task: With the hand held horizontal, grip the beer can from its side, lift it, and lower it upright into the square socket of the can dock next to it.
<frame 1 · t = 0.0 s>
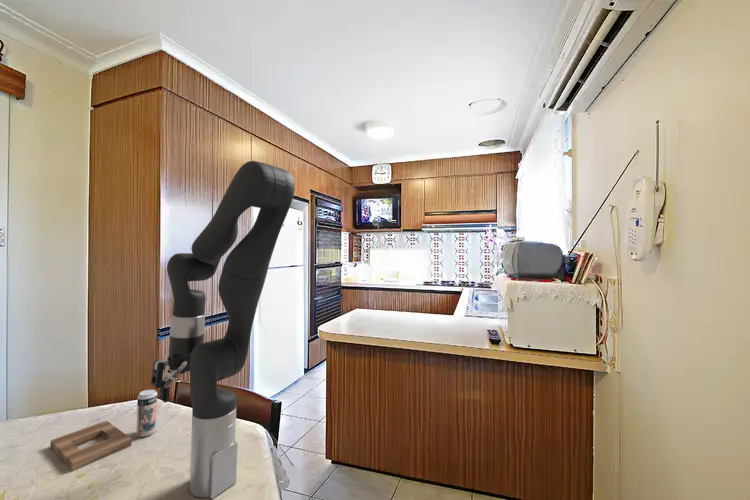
hand: (183, 394, 81), 17 cm above the table, tool pointing down, fingers open, 8 cm apart
beer can: (146, 434, 93), on the table
can dock: (91, 446, 86), on the table
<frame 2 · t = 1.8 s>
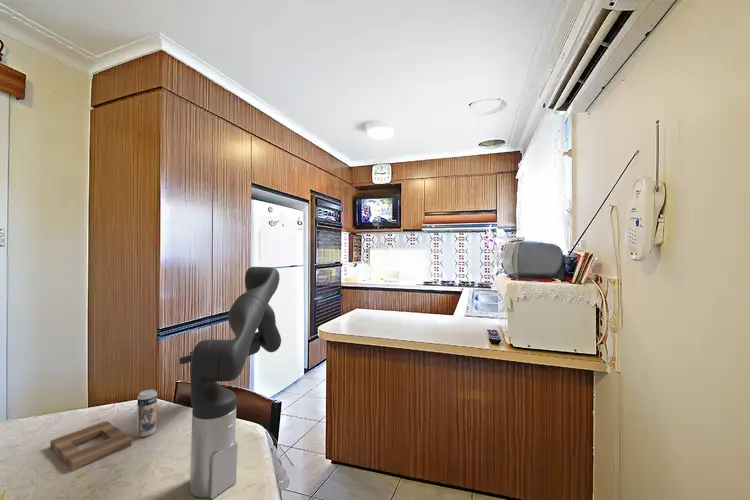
hand: (187, 364, 102), 17 cm above the table, tool horizontal, fingers open, 8 cm apart
nothing on the table moved.
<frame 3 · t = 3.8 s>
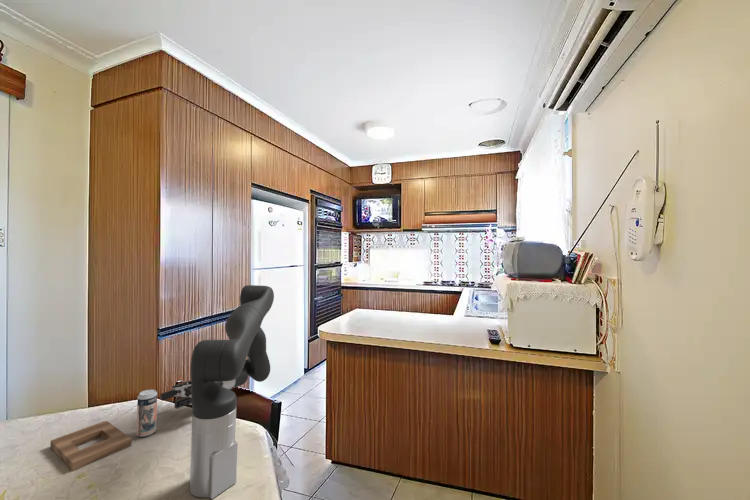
hand: (168, 401, 97), 7 cm above the table, tool horizontal, fingers open, 8 cm apart
nothing on the table moved.
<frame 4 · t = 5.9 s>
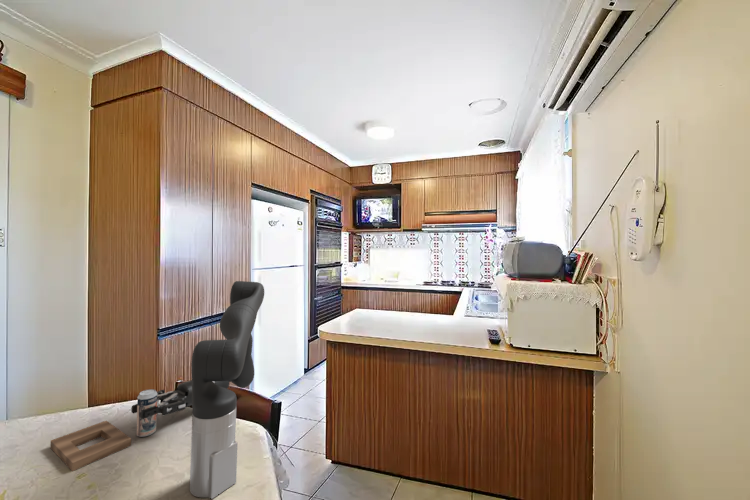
hand: (136, 412, 90), 7 cm above the table, tool horizontal, fingers closed on beer can, 4 cm apart
beer can: (146, 434, 93), on the table, touching gripper
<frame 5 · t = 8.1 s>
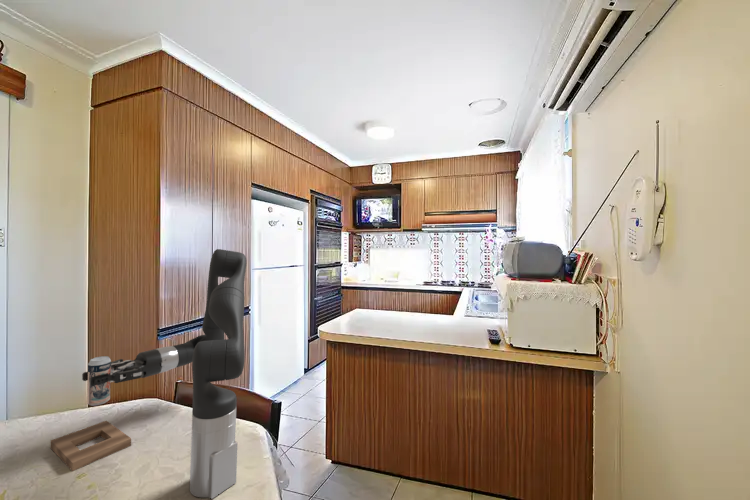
hand: (86, 379, 84), 19 cm above the table, tool horizontal, fingers closed on beer can, 4 cm apart
beer can: (98, 403, 87), point 11 cm above the table, touching gripper
when the fingers open (8 cm above the table, at t = 10.7 s): beer can stays where it is, resting in can dock.
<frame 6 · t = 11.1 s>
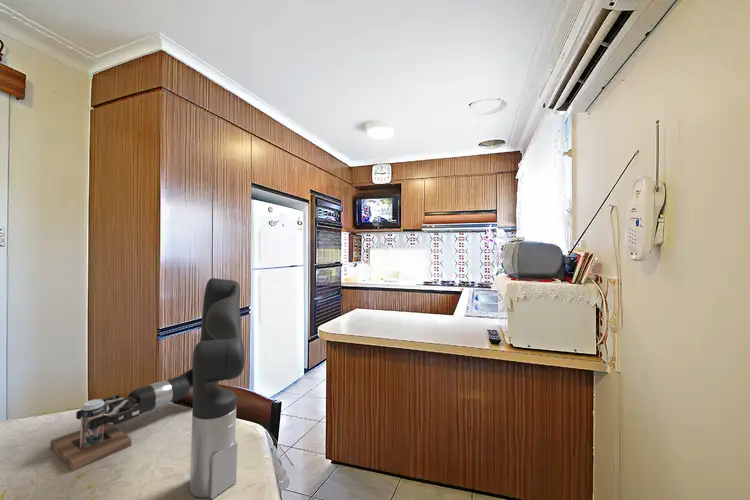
hand: (82, 420, 84), 8 cm above the table, tool horizontal, fingers open, 8 cm apart
beer can: (91, 447, 86), resting in can dock
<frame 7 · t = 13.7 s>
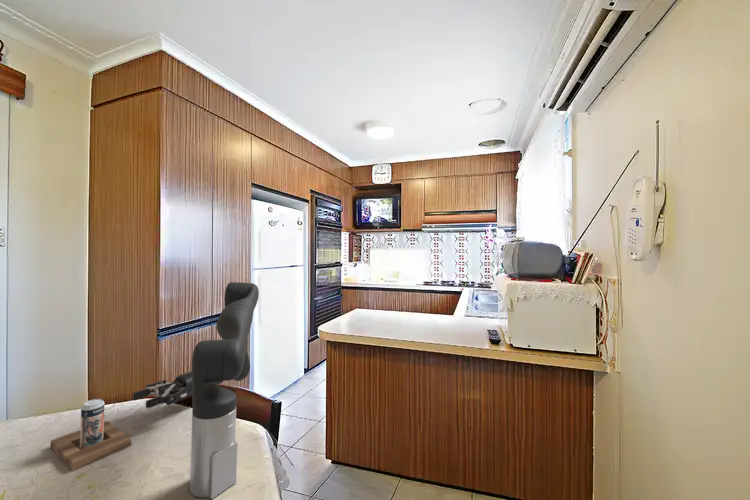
hand: (139, 400, 95), 8 cm above the table, tool horizontal, fingers open, 8 cm apart
nothing on the table moved.
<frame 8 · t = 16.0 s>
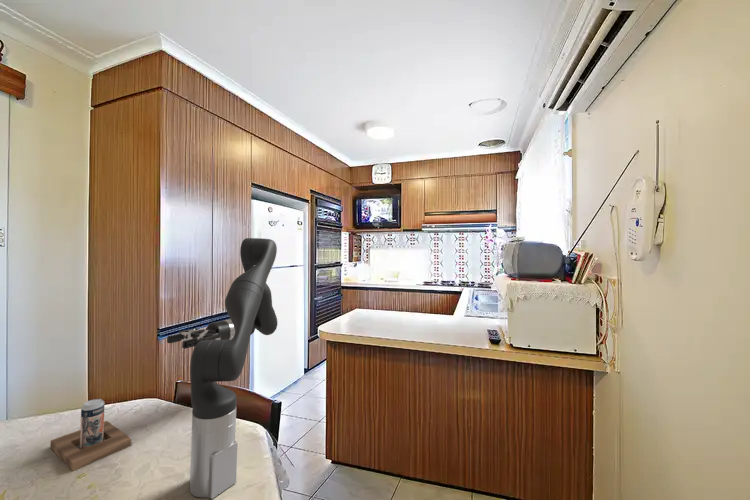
hand: (175, 342, 95), 26 cm above the table, tool horizontal, fingers open, 8 cm apart
nothing on the table moved.
at the end: beer can 0.1 cm off-centre on the can dock, point 0.0 cm above the can dock's base; beer can tilted 0°; the gripper is holding nothing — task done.
